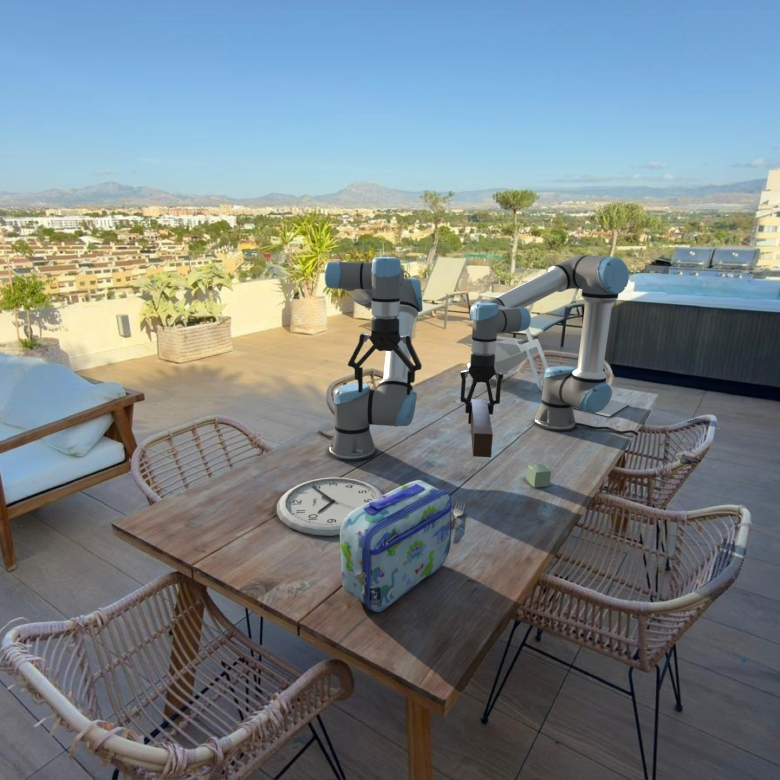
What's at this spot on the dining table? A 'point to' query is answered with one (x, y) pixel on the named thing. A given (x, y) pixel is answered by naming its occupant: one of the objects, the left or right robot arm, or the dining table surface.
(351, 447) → the left robot arm
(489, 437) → the walnut block
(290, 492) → the wall clock
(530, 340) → the white plastic object
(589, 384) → the right robot arm
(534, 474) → the sage block
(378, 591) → the lunch box
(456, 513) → the fork
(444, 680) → the dining table surface
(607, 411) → the invitation card
